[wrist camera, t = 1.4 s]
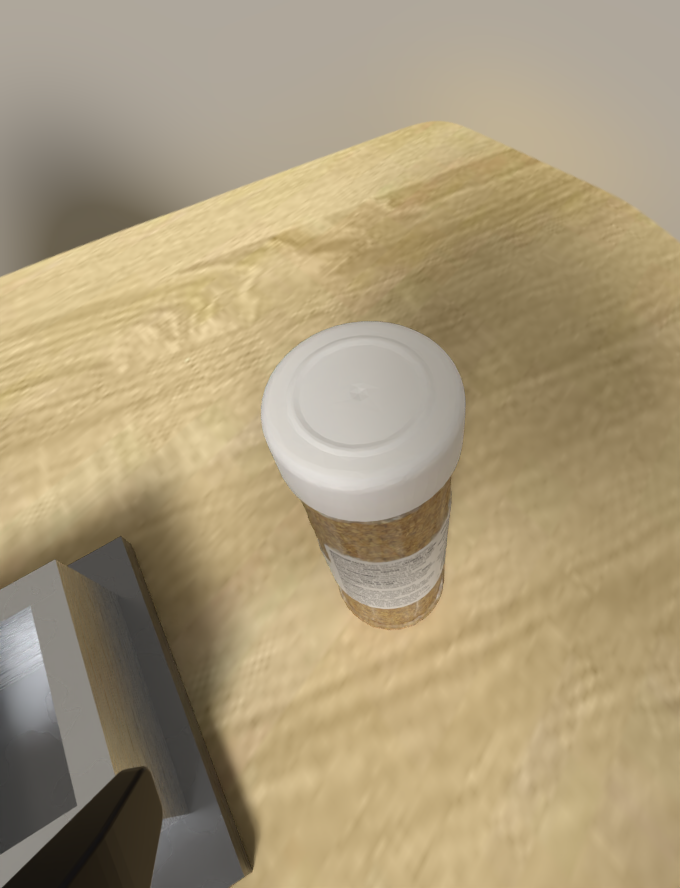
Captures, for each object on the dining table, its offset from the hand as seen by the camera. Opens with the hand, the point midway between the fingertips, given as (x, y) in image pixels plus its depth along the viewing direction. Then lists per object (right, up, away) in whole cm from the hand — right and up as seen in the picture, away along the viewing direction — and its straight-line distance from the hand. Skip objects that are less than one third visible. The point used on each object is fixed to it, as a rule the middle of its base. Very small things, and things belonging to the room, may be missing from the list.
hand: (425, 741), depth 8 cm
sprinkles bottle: (+1, -1, +15) cm, 15 cm away
